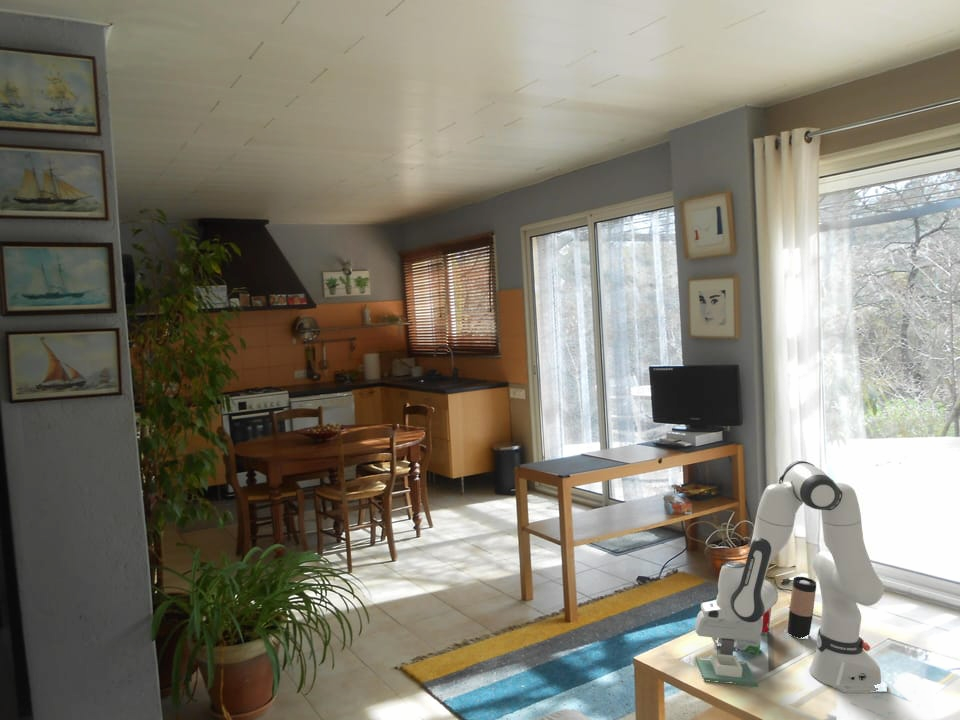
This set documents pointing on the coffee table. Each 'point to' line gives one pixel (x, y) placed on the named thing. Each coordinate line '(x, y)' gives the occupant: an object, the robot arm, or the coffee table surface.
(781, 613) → the coffee table surface
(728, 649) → the plug
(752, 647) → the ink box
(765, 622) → the soda can
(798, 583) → the travel mug
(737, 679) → the header board
